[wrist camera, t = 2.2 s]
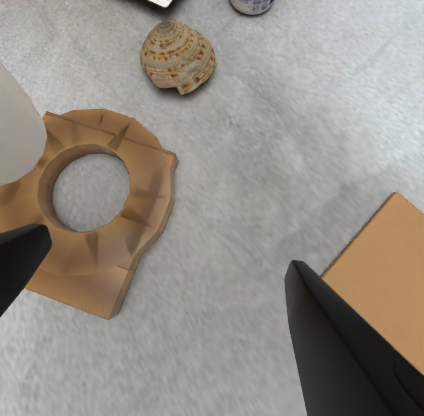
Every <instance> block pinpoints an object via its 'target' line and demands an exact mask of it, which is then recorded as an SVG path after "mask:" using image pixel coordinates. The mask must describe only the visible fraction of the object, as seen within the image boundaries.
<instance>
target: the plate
mask: <svg viewBox="0 0 424 416" xmlns="http://www.w3.org/2000/svg"><path fill="white" fill-rule="evenodd" d="M146 1H148V2H150V3H153V4H155V5H157V6H159V7H161V8H164V9H165V8H168V7H169V5H170V4H171V2H172V1H173V0H146Z"/></svg>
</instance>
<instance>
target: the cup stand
mask: <svg viewBox="0 0 424 416" xmlns="http://www.w3.org/2000/svg"><path fill="white" fill-rule="evenodd" d="M43 121H44V124H45V129H46V134H47V140H46V144H45V149H44V153H43V155H42V156H41V158H40V159H39V161H38V162H37V164H36V165H35V166H34V168H33V169H32V170H31V171H30V172H28V173H27V174H25V175H24V176H23V177H21V178H20V179H19V180H17V181H15V182H12V183H8V184H5V185H2V186H0V233H3V232H6V231H9V230H12V229H16V228H19V227H22V226H25V225H29V224H32V223H38V224H44V225H46V226H47V227H48V229H49V232H50V236H51V239H52V247H51V249H50V251H49V252H48V254H47V255H46V257H45V258H44V260H43V261H42V263H41V264H40V266H39V267H38V269H37V270H36V272H35V273H34V275H33V276H32V278H31V279H30V281H29V282H28V284H27V285H26V286H25V287H24V288H26V289H28V290H31V291H33V292H36V293H39V294H41V295H44V296H47V297H49V298H52V299H55V300H57V301H60V302H62V303H65V304H68V305H70V306H73V307H76V308H78V309H81V310H83V311H86V312H89V313H91V314H94V315H97V316H99V317H102V318H105V319H107V320H109V319H111V318H112V317H114V316H116V315H117V314H118V313H119V310H120V308H121V305H122V302H123V300H124V297H125V295H126V292H127V290H128V287H129V285H130V282H131V280H132V277H133V275H134V272H135V270H136V267H137V265H138V262H139V260H140V257H141V256H142V255H143V253H144V252H145V251H146V250H147V249H148V248H149V247H150V246H151V245H152V244H153V243H154V242H155V240H156V239H157V238H158V237H159V236H160V235H161V234H162V233H163V231H164V228H165V225H166V223H167V220H168V218H169V215H170V212H171V210H172V207H173V205H174V178H173V174H174V171H175V169H176V166H177V164H178V162H179V161H178V158H177V156H176V153H173V152H170V151H167V150H164V149H162V148H161V146H160V143H159V141H158V139H157V138H156V137H155V136H154V135H153V134H152V133H150V132H149V131H148V130H147V129H146V128H145V127H143V126H142V125H141V124H140V123H139V122H138V121H136V120H135V119H134V118H131V117H128V116H125V115H122V114H119V113H115V112H112V111H109V110H106V109H91V110H73V111H70V112H67V113H65V114H62V115H57V114H53V113H50V112H47V111H46V113H45V115H44V117H43ZM88 153H107V154H110V155H113V156H116V157H119V158H120V159H121V160H122V161H123V162H124V163H125V165H126V168H127V170H128V172H129V175H130V193H129V196H128V198H127V200H126V203H125V205H124V207H123V210H122V211H121V212H120V213H119V214H118V215H117V216H116V217H115V218H114V219H113V220H112V221H111V222H110V223H109V224H107V225H105V226H102V227H100V228H98V229H96V230H94V231H92V232H76V231H73V230H70V229H68V228H67V227H66V226H65V225H64V224H63V223H62V222H61V221H60V220H59V219H58V218H57V217H56V214H55V211H54V208H53V205H52V190H53V185H54V183H55V181H56V179H57V177H58V175H59V173H60V171H62V170H63V169H64V168H65V167H66V166H67V165H68V164H69V163H70V162H71V161H72V160H74V159H76V158H79V157H81V156H83V155H85V154H88Z"/></svg>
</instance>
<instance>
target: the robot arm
mask: <svg viewBox="0 0 424 416" xmlns="http://www.w3.org/2000/svg"><path fill="white" fill-rule="evenodd" d="M51 247H52V239H51V236H50V232H49V229H48V227H47V226H46V225H44V224H38V223H32V224H29V225H25V226H22V227H19V228H16V229H12V230H9V231H6V232H3V233H0V317H1V316H2V315H3V313H4V312H5V311H6V310H7V308H8V307H9V306H10V305H11V304H12V302H13V301H14V300H15V299H16V297H17V296H18V295H19V294H20V293H21V291H22V290H23V289H24V287H25V286H26V285H27V284H28V282H29V281H30V279H31V278H32V276H33V275H34V273H35V272H36V270H37V269H38V267H39V266H40V264H41V263H42V261H43V260H44V258H45V257H46V255H47V254H48V252H49V251H50V249H51ZM285 293H286V304H287V315H288V323H289V329H290V334H291V339H292V344H293V348H294V353H295V358H296V363H297V368H298V373H299V377H300V382H301V387H302V392H303V397H304V401H305V406H306V411H307V416H424V376H423V375H422V374H421V373H420V372H419V371H418V370H417V369H416V368H415V367H414V366H413V365H412V364H410V363H409V362H408V361H407V360H406V359H405V358H404V357H403V356H402V355H401V354H400V353H399V352H398V351H397V350H394V349H393V346H392V345H390V344H389V343H388V342H387V341H386V340H385V339H384V338H383V337H382V336H381V335H380V334H379V333H378V332H377V331H376V330H375V329H374V328H373V327H372V326H371V325H370V324H369V323H368V322H366V321H365V320H364V319H363V318H362V317H361V316H360V315H359V314H358V313H357V312H356V311H355V310H354V309H353V308H352V307H351V306H350V305H349V304H348V303H347V302H346V301H345V300H344V299H342V298H341V297H340V296H339V295H338V294H337V293H336V292H335V291H334V290H333V289H332V288H331V287H330V286H329V285H328V284H327V283H326V282H325V281H324V280H323V279H322V278H321V277H320V276H318V275H317V274H316V273H315V272H314V271H313V270H312V269H311V268H310V267H309V266H308V265H307V264H306V263H305V262H303V261H298V260H292V261H291V262H290V264H289V267H288V270H287V272H286V275H285Z"/></svg>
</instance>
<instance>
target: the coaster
mask: <svg viewBox="0 0 424 416" xmlns="http://www.w3.org/2000/svg"><path fill="white" fill-rule="evenodd" d="M321 278H322V279H323V280H324V281H325V282H326V283H327V284H328V285H329V286H330V287H331V288H332V289H333V290H334V291H335V292H336V293H337V294H338V295H339V296H340V297H341V298H342V299H344V300H345V301H346V302H347V303H348V304H349V305H350V306H351V307H352V308H353V309H354V310H355V311H356V312H357V313H358V314H359V315H360V316H361V317H362V318H363V319H364V320H365V321H366V322H368V323H369V324H370V325H371V326H372V327H373V328H374V329H375V330H376V331H377V332H378V333H379V334H380V335H381V336H382V337H383V338H384V339H385V340H386V341H387V342H388V343H389V344H390V345H392V346H393V348H394V349H395V350H397V351H398V352H399V353H400V354H401V355H402V356H403V357H404V358H405V359H406V360H407V361H408V362H409V363H410V364H412V365H413V366H414V367H415V368H416V369H417V370H418V371H419V372H420V373H421V374H422V375H423V376H424V214H423V213H422V212H421V211H420V210H419V209H417V208H416V207H415V206H414V205H412V204H411V203H410V202H409V201H408V200H406V199H405V198H404V197H403V196H402V195H400V194H399V193H398V192H394V193H393V194H392V195H391V196H390V197H389V198H388V200H387V201H386V202H385V203H384V204H383V205H382V207H381V208H380V209H379V210H378V211H377V212H376V214H375V215H374V216H373V217H372V218H371V219H370V221H369V222H368V223H367V224H366V225H365V226H364V227H363V229H362V230H361V231H360V232H359V233H358V234H357V236H356V237H355V238H354V239H353V240H352V241H351V243H350V244H349V245H348V246H347V247H346V248H345V250H344V251H343V252H342V253H341V254H340V255H339V257H338V258H337V259H336V260H335V261H334V262H333V264H332V265H331V266H330V267H329V268H328V269H327V271H326V272H325V273H324V274H323V275H322V276H321Z"/></svg>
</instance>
